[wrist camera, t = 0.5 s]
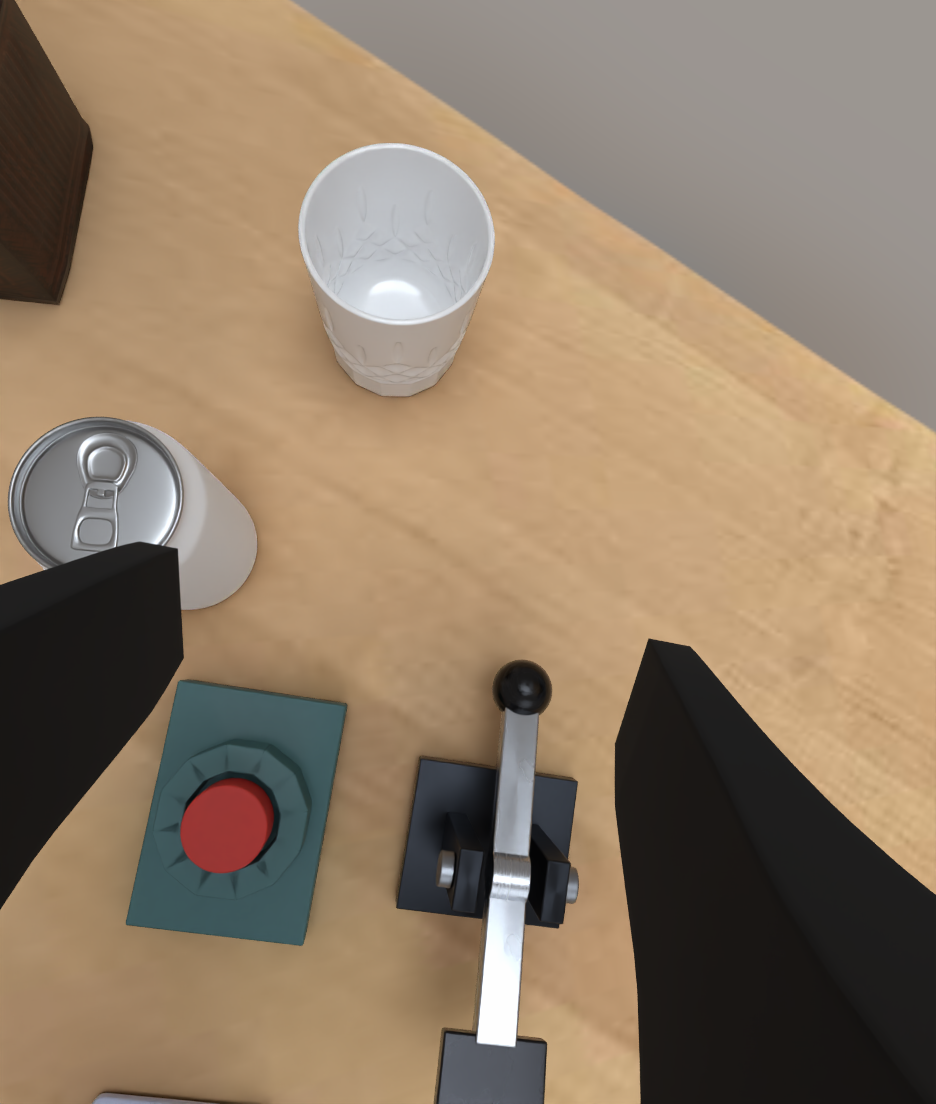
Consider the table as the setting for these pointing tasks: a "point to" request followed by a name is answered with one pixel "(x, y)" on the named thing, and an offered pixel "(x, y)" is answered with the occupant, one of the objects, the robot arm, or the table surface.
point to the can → (130, 504)
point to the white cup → (395, 262)
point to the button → (227, 825)
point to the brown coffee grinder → (37, 166)
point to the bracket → (482, 842)
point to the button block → (287, 778)
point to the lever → (503, 918)
